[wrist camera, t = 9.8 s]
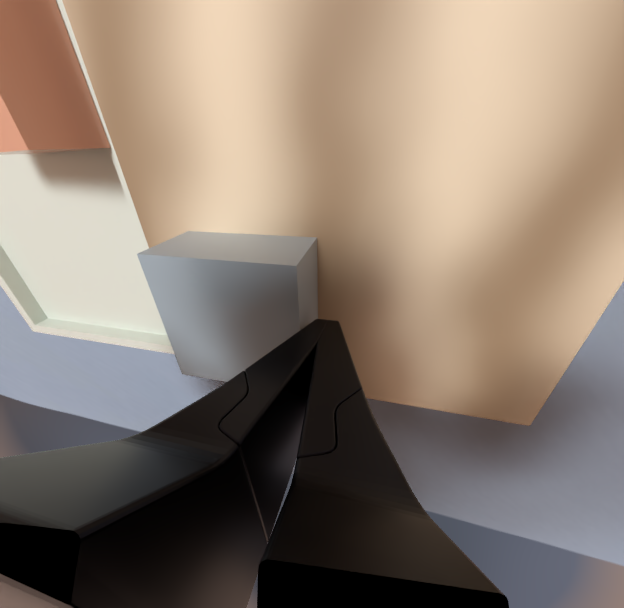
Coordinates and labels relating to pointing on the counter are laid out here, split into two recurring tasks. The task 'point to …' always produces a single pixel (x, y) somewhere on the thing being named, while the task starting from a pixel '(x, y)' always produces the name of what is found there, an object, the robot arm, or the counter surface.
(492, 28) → the birch board
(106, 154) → the tray
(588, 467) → the counter surface
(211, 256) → the grey box
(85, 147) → the terracotta block
